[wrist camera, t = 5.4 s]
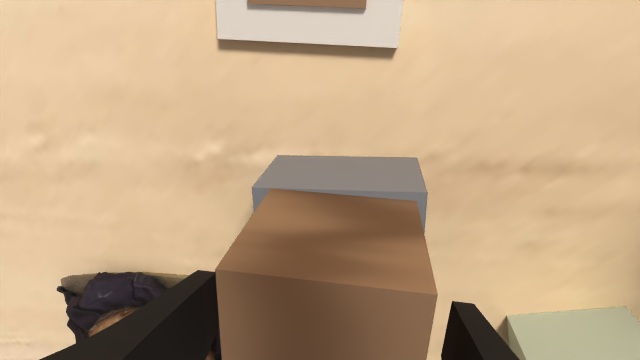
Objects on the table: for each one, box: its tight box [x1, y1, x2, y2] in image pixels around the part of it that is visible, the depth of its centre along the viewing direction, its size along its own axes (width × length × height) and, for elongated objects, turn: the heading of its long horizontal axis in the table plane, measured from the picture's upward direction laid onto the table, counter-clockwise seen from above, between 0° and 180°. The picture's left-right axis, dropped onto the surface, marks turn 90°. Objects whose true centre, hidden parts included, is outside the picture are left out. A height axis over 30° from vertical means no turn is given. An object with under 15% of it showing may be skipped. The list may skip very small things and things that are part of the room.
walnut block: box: [215, 188, 438, 360], centre depth 12 cm, size 5×5×5 cm
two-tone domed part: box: [57, 272, 222, 360], centre depth 21 cm, size 11×8×4 cm
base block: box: [252, 155, 428, 232], centre depth 16 cm, size 6×6×4 cm
